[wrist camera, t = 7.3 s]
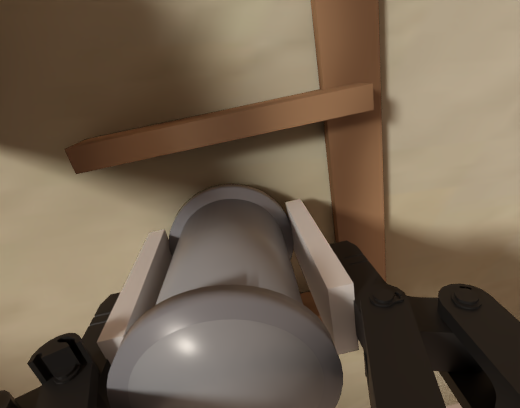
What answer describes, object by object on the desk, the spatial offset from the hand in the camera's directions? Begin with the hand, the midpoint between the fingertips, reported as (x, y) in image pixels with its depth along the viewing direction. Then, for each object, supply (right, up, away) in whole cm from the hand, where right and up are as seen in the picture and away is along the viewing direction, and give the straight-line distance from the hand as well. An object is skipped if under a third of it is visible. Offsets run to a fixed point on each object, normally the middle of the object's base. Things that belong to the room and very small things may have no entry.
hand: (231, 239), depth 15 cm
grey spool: (0, 0, 0) cm, 0 cm away
